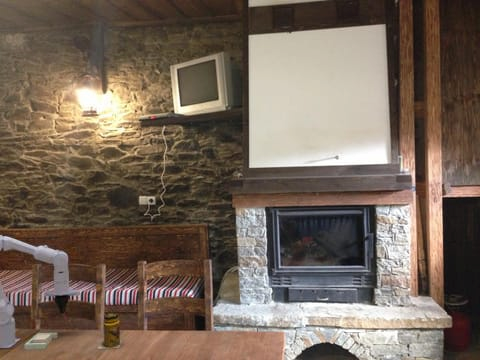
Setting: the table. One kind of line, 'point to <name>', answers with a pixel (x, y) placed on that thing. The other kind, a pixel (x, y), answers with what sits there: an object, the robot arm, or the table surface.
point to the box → (32, 345)
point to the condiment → (111, 332)
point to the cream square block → (42, 339)
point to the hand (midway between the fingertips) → (62, 312)
